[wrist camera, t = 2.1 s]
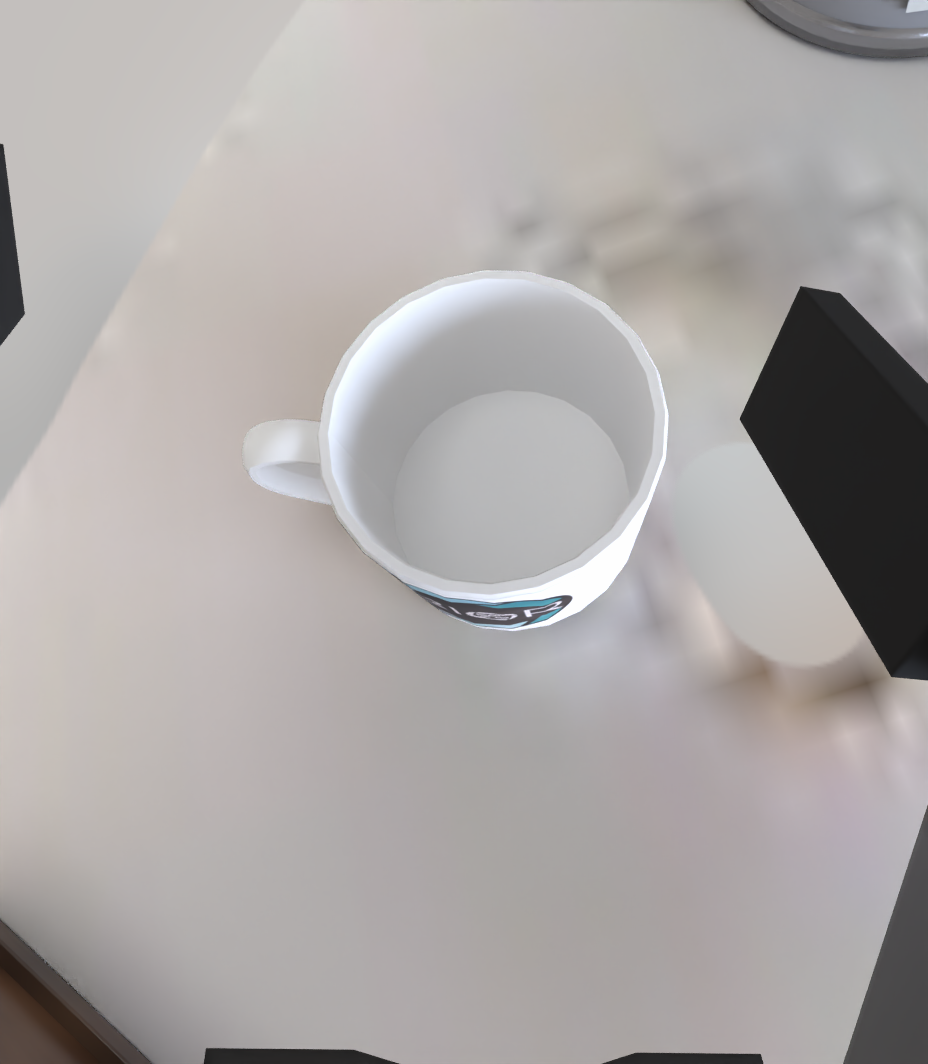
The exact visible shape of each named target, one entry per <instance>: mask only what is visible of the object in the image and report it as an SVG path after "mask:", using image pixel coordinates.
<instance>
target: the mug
mask: <svg viewBox="0 0 928 1064" xmlns="http://www.w3.org/2000/svg"><path fill="white" fill-rule="evenodd" d="M668 416H669V414H668V410H667V406H666V401H665V397H664V392H663V388H662V384H661V379H660V375H659V372H658V370H657V368H656V366H655V364H654V363H653V361H652V359H651V357H650V356H649V354H648V352H647V350H646V348H645V347H644V345H643V343H642V341H641V340H640V338H639V336H638V335H637V334H636V333H635V332H634V331H633V330H632V329H631V328H630V327H629V326H628V325H627V324H626V323H625V322H624V321H623V320H622V319H621V318H620V317H619V316H618V315H617V314H616V313H615V312H614V311H613V310H612V309H611V308H610V307H609V306H608V305H607V304H605V303H604V302H602V301H600V300H598V299H597V298H595V297H593V296H591V295H590V294H588V293H586V292H584V291H583V290H581V289H579V288H577V287H576V286H574V285H572V284H570V283H568V282H565V281H561V280H557V279H554V278H550V277H546V276H543V275H539V274H535V273H532V272H528V271H500V270H482V271H477V272H472V273H468V274H463V275H458V276H453V277H448V278H443V279H440V280H438V281H436V282H434V283H432V284H429V285H427V286H425V287H423V288H421V289H419V290H416V291H414V292H412V293H410V294H408V295H405V296H403V297H402V298H401V299H399V300H398V301H397V302H395V303H394V304H393V305H392V306H390V307H389V308H388V309H386V310H385V311H384V312H383V313H381V314H380V315H379V316H377V317H376V318H375V319H373V320H372V321H371V322H370V323H369V324H368V325H367V326H366V327H365V329H364V330H363V331H362V332H361V334H360V335H359V336H358V337H357V339H356V340H355V341H354V342H353V344H352V345H351V346H350V347H349V349H348V350H347V351H346V352H345V354H344V355H343V356H342V358H341V361H340V363H339V365H338V367H337V369H336V371H335V374H334V376H333V378H332V380H331V382H330V385H329V387H328V389H327V391H326V393H325V395H324V401H323V406H322V412H321V418H320V422H316V421H309V420H301V419H280V420H274V421H267V422H263V423H261V424H259V425H257V426H254V427H252V428H251V429H250V430H249V431H248V433H247V434H246V435H245V439H244V443H243V448H242V458H243V466H244V468H245V469H246V471H247V472H248V474H249V475H250V477H251V478H252V480H253V481H254V482H256V483H257V484H259V485H260V486H262V487H264V488H266V489H269V490H271V491H273V492H276V493H280V494H284V495H287V496H291V497H295V498H300V499H304V500H309V501H314V502H318V503H323V504H328V505H332V507H333V509H334V512H335V514H336V517H337V519H338V521H339V522H340V523H341V525H342V526H343V527H344V528H345V530H346V531H347V532H348V534H349V535H350V536H351V537H352V539H353V540H354V541H355V543H356V544H357V545H358V546H359V548H360V549H361V550H362V552H363V553H364V554H366V555H367V556H368V557H370V558H371V559H372V560H374V561H375V562H376V563H377V564H379V565H380V566H381V567H383V568H384V569H385V570H387V571H388V572H389V573H391V574H392V575H393V576H395V577H396V578H397V579H399V580H400V581H401V582H402V583H404V584H405V585H406V586H408V587H409V588H410V589H412V590H413V591H414V592H416V593H417V594H418V595H420V596H421V597H422V598H424V599H425V600H426V601H428V602H429V603H430V604H432V605H433V606H435V607H436V608H437V609H439V610H440V611H441V612H443V613H444V614H446V615H447V616H449V617H452V618H455V619H457V620H460V621H463V622H465V623H468V624H470V625H473V626H476V627H478V628H486V629H497V630H507V631H518V630H524V629H530V628H536V627H542V626H548V625H550V624H553V623H555V622H557V621H559V620H562V619H564V618H566V617H568V616H570V615H573V614H575V613H577V612H579V611H581V610H582V609H584V608H585V607H586V606H587V605H588V604H590V603H591V602H592V601H593V600H595V599H596V598H597V597H598V596H599V595H601V594H602V593H603V592H604V591H606V590H607V589H608V587H609V586H610V585H611V583H612V582H613V580H614V579H615V578H616V576H617V575H618V573H619V572H620V571H621V569H622V568H623V566H624V565H625V564H626V562H627V561H628V558H629V555H630V552H631V550H632V547H633V545H634V542H635V540H636V537H637V535H638V532H639V529H640V527H641V524H642V522H643V519H644V517H645V514H646V512H647V509H648V507H649V504H650V501H651V499H652V496H653V493H654V490H655V488H656V485H657V482H658V479H659V476H660V474H661V471H662V468H663V465H664V463H665V460H666V448H667V432H668Z"/></svg>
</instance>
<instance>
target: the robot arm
mask: <svg viewBox="0 0 928 1064" xmlns="http://www.w3.org/2000/svg"><path fill="white" fill-rule="evenodd" d="M747 1H748V2H749V3H750V4H751V5H752V6H753V7H754V8H756V9H757V10H758V11H759V12H760V13H761V14H762V15H764V16H765V17H766V18H768V19H769V20H770V21H772V22H773V23H775V24H776V25H778V26H779V27H781V28H782V29H784V30H786V31H788V32H790V33H792V34H794V35H795V36H797V37H799V38H802V39H804V40H807V41H809V42H811V43H814V44H817V45H820V46H823V47H826V48H829V49H833V50H837V51H841V52H846V53H850V54H857V55H864V56H873V57H917V56H927V55H928V0H747ZM24 314H25V312H24V304H23V296H22V288H21V281H20V273H19V265H18V257H17V249H16V241H15V233H14V226H13V217H12V209H11V202H10V194H9V186H8V178H7V170H6V162H5V155H4V147H3V144H0V345H1V344H2V343H3V342H4V340H5V339H6V338H7V336H8V335H9V334H10V333H11V331H12V330H13V329H14V327H15V326H16V325H17V323H18V322H19V321H20V319H21V318H22V317H23V316H24ZM740 421H741V422H742V424H743V426H744V428H745V429H746V431H747V433H748V434H749V436H750V438H751V439H752V441H753V443H754V444H755V446H756V448H757V450H758V451H759V453H760V454H761V456H762V458H763V460H764V461H765V463H766V465H767V466H768V468H769V470H770V472H771V473H772V475H773V477H774V478H775V480H776V482H777V484H778V485H779V487H780V489H781V490H782V492H783V494H784V495H785V497H786V499H787V500H788V502H789V504H790V506H791V507H792V509H793V511H794V512H795V514H796V516H797V517H798V519H799V521H800V523H801V524H802V526H803V527H804V529H805V531H806V533H807V534H808V536H809V538H810V540H811V541H812V543H813V544H814V546H815V548H816V549H817V551H818V553H819V555H820V556H821V558H822V560H823V561H824V563H825V565H826V567H827V568H828V570H829V572H830V573H831V575H832V577H833V579H834V580H835V582H836V584H837V585H838V587H839V589H840V590H841V592H842V594H843V596H844V597H845V599H846V601H847V602H848V604H849V606H850V607H851V609H852V610H853V612H854V614H855V616H856V617H857V619H858V621H859V623H860V624H861V626H862V628H863V630H864V631H865V633H866V635H867V636H868V638H869V640H870V641H871V643H872V645H873V646H874V648H875V650H876V652H877V653H878V655H879V657H880V658H881V660H882V662H883V663H884V665H885V667H886V669H887V670H888V672H889V674H890V675H891V677H897V678H908V679H918V680H928V383H927V382H926V381H925V380H924V379H923V378H922V377H921V376H920V375H919V374H918V373H917V372H916V371H915V370H914V369H913V368H912V367H911V366H910V365H909V364H908V363H907V362H906V361H905V360H904V359H903V358H902V357H901V356H900V355H899V354H898V353H897V351H896V350H895V349H894V348H893V347H892V346H891V345H890V344H889V343H888V342H887V341H886V340H885V339H884V338H883V337H882V336H881V335H880V334H879V333H878V332H877V331H876V330H875V329H874V328H873V327H872V326H871V325H870V324H869V323H868V322H867V321H866V320H865V319H864V317H863V316H862V315H861V314H860V313H859V312H858V311H857V310H856V309H855V308H854V307H853V306H852V305H851V304H850V303H849V302H848V301H847V300H846V299H845V298H844V297H843V296H842V295H841V294H840V293H836V292H830V291H824V290H819V289H813V288H808V287H802V286H801V287H800V289H799V291H798V293H797V295H796V298H795V300H794V302H793V304H792V306H791V308H790V311H789V313H788V315H787V317H786V319H785V322H784V324H783V326H782V328H781V330H780V332H779V335H778V337H777V339H776V341H775V343H774V345H773V348H772V350H771V352H770V354H769V356H768V358H767V361H766V363H765V365H764V367H763V369H762V371H761V374H760V376H759V378H758V380H757V382H756V384H755V387H754V389H753V391H752V393H751V395H750V398H749V400H748V402H747V404H746V406H745V408H744V411H743V413H742V415H741V417H740ZM204 1064H398V1063H395V1062H392V1061H388V1060H385V1059H382V1058H379V1057H375V1056H372V1055H369V1054H366V1053H362V1052H359V1051H356V1050H322V1049H226V1048H206V1052H205V1059H204ZM603 1064H763V1060H762V1057H761V1054H705V1053H634V1054H631V1055H628V1056H625V1057H621V1058H618V1059H615V1060H612V1061H609V1062H606V1063H603ZM843 1064H928V806H927V809H926V812H925V815H924V818H923V821H922V824H921V828H920V831H919V834H918V837H917V840H916V843H915V846H914V849H913V852H912V855H911V858H910V861H909V864H908V867H907V870H906V873H905V876H904V880H903V883H902V886H901V889H900V892H899V895H898V898H897V901H896V904H895V907H894V910H893V913H892V916H891V919H890V922H889V925H888V928H887V932H886V935H885V938H884V941H883V944H882V947H881V950H880V953H879V956H878V959H877V962H876V965H875V968H874V971H873V974H872V977H871V980H870V984H869V987H868V990H867V993H866V996H865V999H864V1002H863V1005H862V1008H861V1011H860V1014H859V1017H858V1020H857V1023H856V1026H855V1029H854V1032H853V1035H852V1039H851V1042H850V1045H849V1048H848V1051H847V1054H846V1057H845V1060H844V1063H843Z"/></svg>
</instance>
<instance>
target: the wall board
mask: <svg viewBox="0 0 928 1064" xmlns="http://www.w3.org/2000/svg"><path fill="white" fill-rule="evenodd" d="M0 1064H152V1063H150V1062H149V1061H148V1060H147V1059H146V1058H145V1057H144V1056H143V1055H142V1054H141V1053H140V1052H139V1051H138V1050H137V1049H136V1048H135V1047H134V1046H133V1045H131V1044H130V1043H129V1042H128V1041H127V1040H126V1039H125V1038H124V1037H123V1036H122V1035H121V1034H120V1033H119V1032H118V1031H117V1030H116V1029H115V1028H114V1027H113V1026H111V1025H110V1024H109V1023H108V1022H107V1021H106V1020H105V1019H104V1018H103V1017H102V1016H101V1015H100V1014H99V1013H98V1012H97V1011H96V1010H95V1009H94V1008H92V1007H91V1006H90V1005H89V1004H88V1003H87V1002H86V1001H85V1000H84V999H83V998H82V997H81V996H80V995H79V994H78V993H77V992H76V991H75V990H73V989H72V988H71V987H70V986H69V985H68V984H67V983H66V982H65V981H64V980H63V979H62V978H61V977H60V976H59V975H58V974H57V973H56V972H54V971H53V970H52V969H51V968H50V967H49V966H48V965H47V964H46V963H45V962H44V961H43V960H42V959H41V958H40V957H39V956H38V955H37V954H35V953H34V952H33V951H32V950H31V949H30V948H29V947H28V946H27V945H26V944H25V943H24V942H23V941H22V940H21V939H20V938H19V937H18V936H17V935H15V934H14V933H13V932H12V931H11V930H10V929H9V928H8V927H7V926H6V925H5V924H4V923H3V922H2V921H1V920H0Z"/></svg>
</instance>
